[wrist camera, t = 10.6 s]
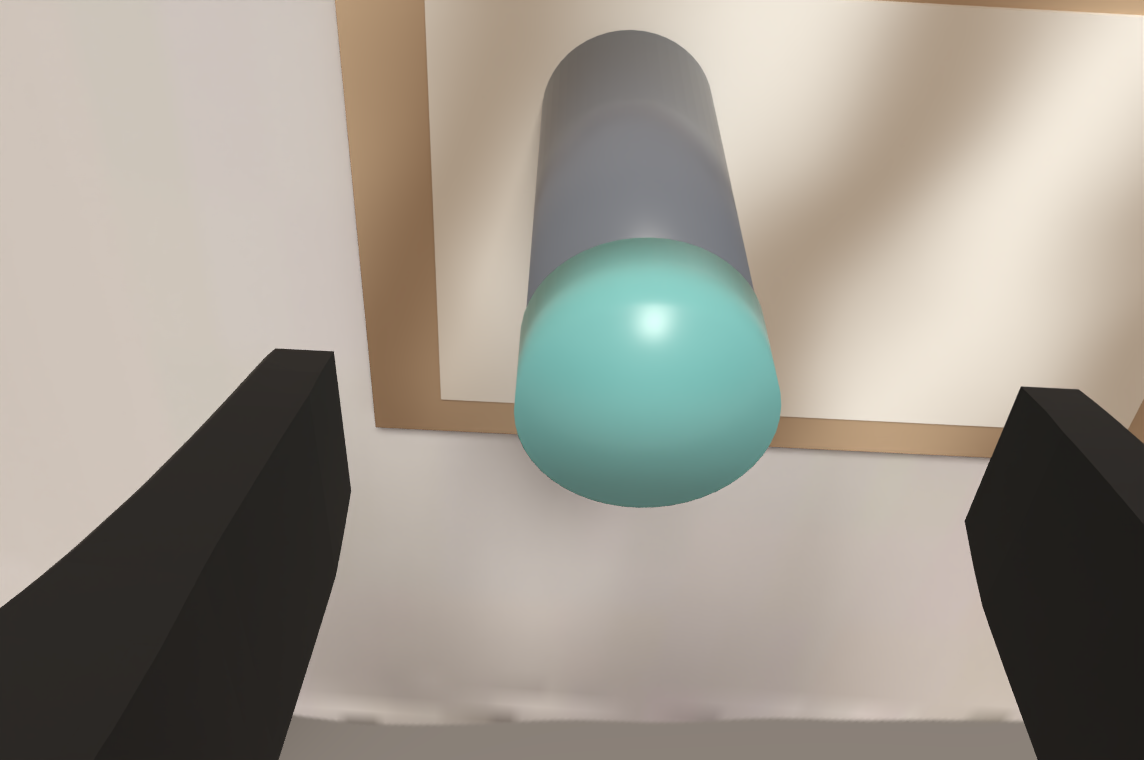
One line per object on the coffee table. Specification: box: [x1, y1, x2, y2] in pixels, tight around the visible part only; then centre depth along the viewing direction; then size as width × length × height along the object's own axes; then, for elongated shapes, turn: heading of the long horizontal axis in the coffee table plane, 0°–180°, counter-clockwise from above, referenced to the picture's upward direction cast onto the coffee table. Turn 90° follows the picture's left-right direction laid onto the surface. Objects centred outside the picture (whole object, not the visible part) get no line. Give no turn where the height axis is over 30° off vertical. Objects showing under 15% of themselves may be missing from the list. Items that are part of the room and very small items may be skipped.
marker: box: [514, 30, 781, 508], centre depth 15 cm, size 3×3×8 cm
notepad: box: [335, 0, 1144, 458], centre depth 20 cm, size 18×11×1 cm, turn 87°
